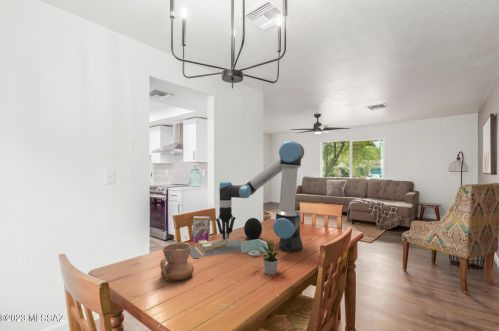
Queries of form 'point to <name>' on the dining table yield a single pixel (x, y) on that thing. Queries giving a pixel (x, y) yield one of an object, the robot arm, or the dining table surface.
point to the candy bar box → (201, 228)
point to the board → (231, 247)
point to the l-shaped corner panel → (253, 247)
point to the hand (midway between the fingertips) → (225, 244)
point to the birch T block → (211, 245)
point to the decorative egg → (253, 228)
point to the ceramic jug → (176, 262)
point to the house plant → (270, 257)
